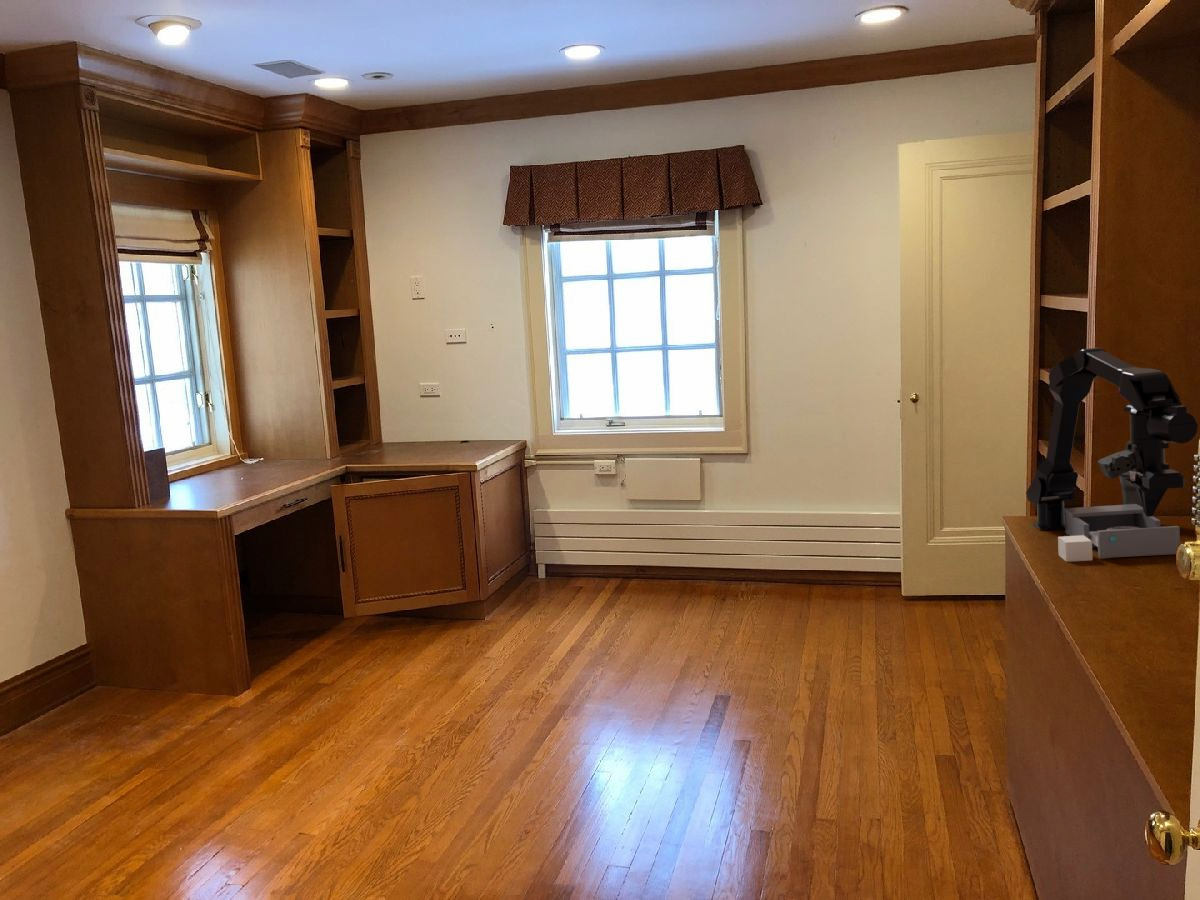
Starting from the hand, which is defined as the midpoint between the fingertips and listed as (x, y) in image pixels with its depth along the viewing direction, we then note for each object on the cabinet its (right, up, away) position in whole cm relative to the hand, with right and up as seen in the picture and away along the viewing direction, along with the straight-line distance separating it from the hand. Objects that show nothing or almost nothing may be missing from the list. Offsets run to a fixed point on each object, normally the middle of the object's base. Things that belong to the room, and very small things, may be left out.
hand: (1148, 516), depth 191 cm
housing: (+4, -6, +22) cm, 23 cm away
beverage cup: (+15, -4, +32) cm, 35 cm away
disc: (+3, -6, +13) cm, 15 cm away
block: (-9, -9, +10) cm, 17 cm away
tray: (+3, -7, +12) cm, 15 cm away
